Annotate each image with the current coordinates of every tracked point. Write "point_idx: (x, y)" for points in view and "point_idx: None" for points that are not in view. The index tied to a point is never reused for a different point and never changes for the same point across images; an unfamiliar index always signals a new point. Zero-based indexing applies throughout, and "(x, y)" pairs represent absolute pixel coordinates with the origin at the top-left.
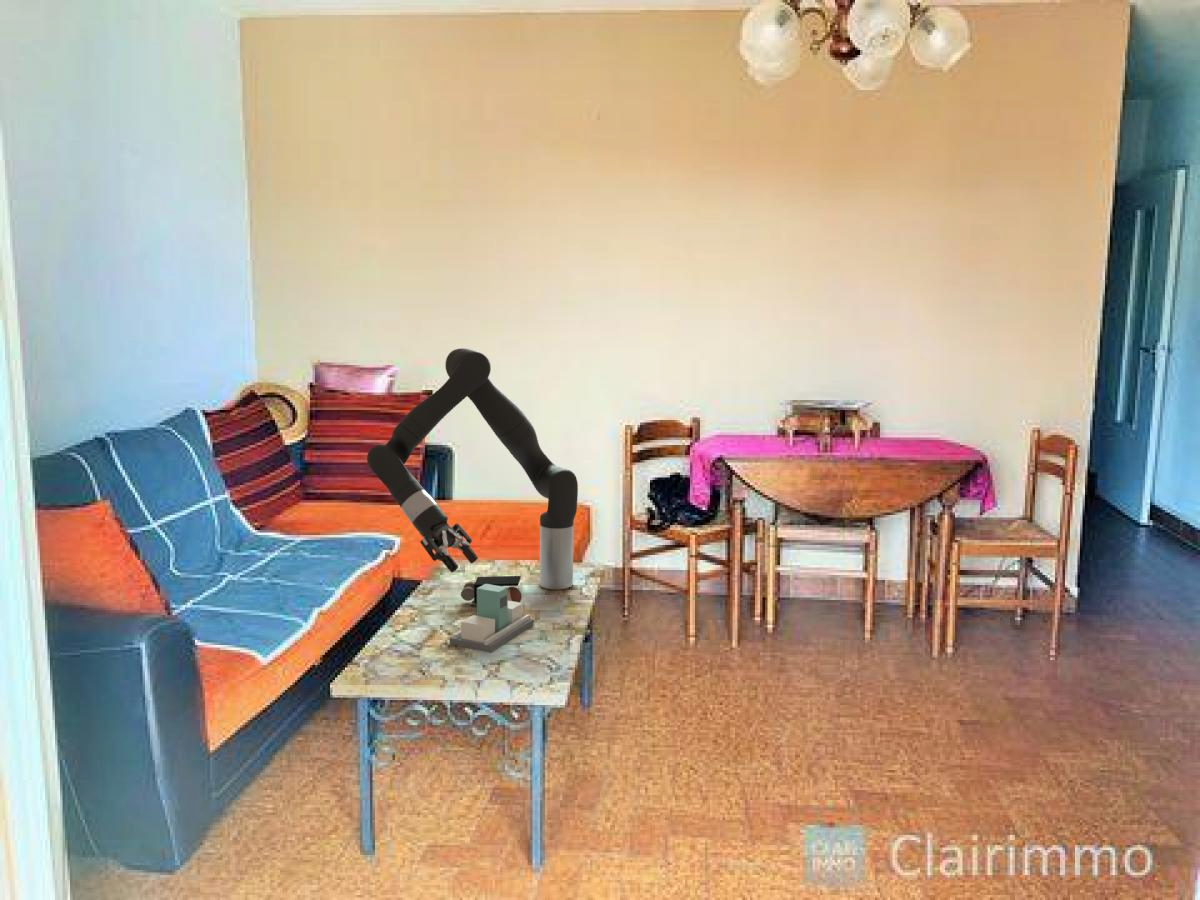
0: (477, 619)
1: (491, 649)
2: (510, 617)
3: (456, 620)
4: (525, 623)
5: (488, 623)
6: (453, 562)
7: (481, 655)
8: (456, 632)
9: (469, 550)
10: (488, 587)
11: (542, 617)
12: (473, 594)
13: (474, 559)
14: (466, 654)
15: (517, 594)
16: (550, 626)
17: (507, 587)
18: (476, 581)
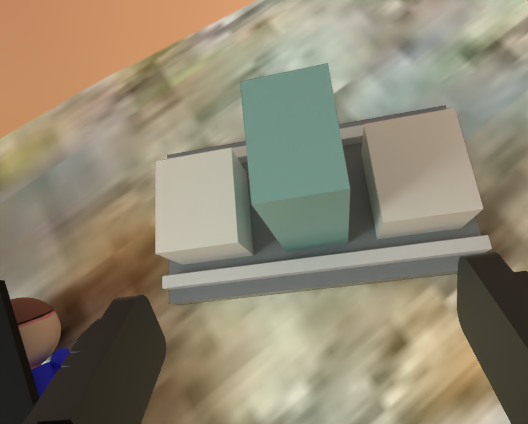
0: (412, 172)
1: None
2: (240, 169)
3: (267, 418)
4: (212, 149)
5: (414, 116)
6: (522, 288)
7: (481, 122)
8: (465, 251)
9: (98, 381)
10: (298, 149)
11: (107, 182)
12: None
13: (146, 315)
14: (510, 162)
15: (20, 301)
16: (162, 120)
17: (241, 82)
18: None
